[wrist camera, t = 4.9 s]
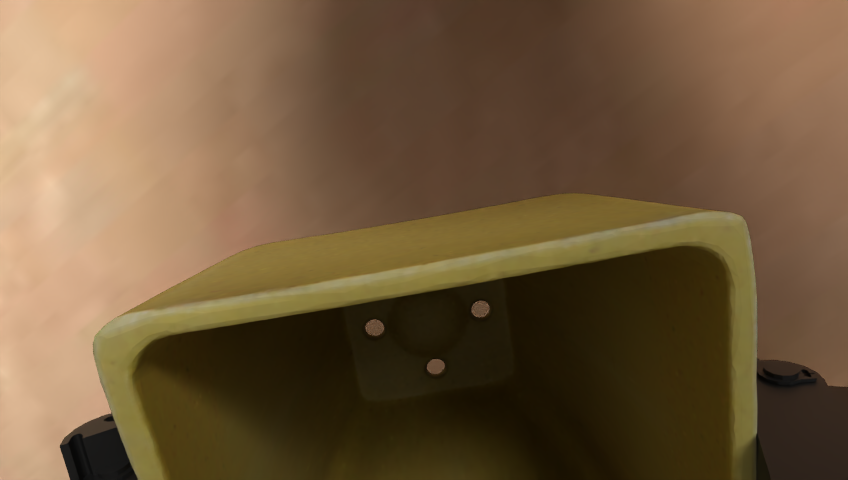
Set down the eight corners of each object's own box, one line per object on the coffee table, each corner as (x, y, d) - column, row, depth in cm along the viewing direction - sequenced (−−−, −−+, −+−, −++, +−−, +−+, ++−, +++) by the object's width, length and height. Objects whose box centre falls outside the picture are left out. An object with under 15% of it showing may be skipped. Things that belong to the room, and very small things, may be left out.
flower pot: (583, 421, 18) (768, 722, 9) (317, 468, 18) (244, 822, 9) (555, 150, 16) (761, 205, 7) (252, 202, 16) (74, 323, 7)
